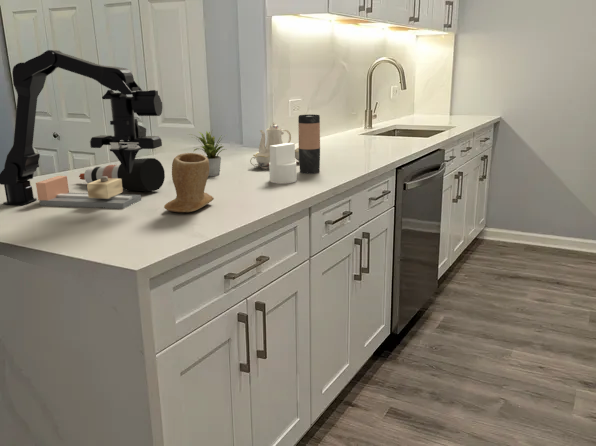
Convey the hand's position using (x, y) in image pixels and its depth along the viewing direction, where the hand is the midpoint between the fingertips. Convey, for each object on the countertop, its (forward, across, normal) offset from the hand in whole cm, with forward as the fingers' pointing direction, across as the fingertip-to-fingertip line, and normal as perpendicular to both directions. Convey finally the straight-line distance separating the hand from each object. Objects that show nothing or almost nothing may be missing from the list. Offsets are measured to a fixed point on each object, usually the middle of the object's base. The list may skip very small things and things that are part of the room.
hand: (129, 173), depth 151 cm
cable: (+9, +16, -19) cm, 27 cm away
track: (+9, +13, 0) cm, 16 cm away
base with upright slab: (+9, -35, -37) cm, 52 cm away
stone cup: (+9, -19, +2) cm, 21 cm away
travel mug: (+9, -41, -53) cm, 68 cm away
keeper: (+7, +8, 0) cm, 10 cm away
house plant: (+9, -6, -44) cm, 45 cm away
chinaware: (+9, -26, -68) cm, 73 cm away
